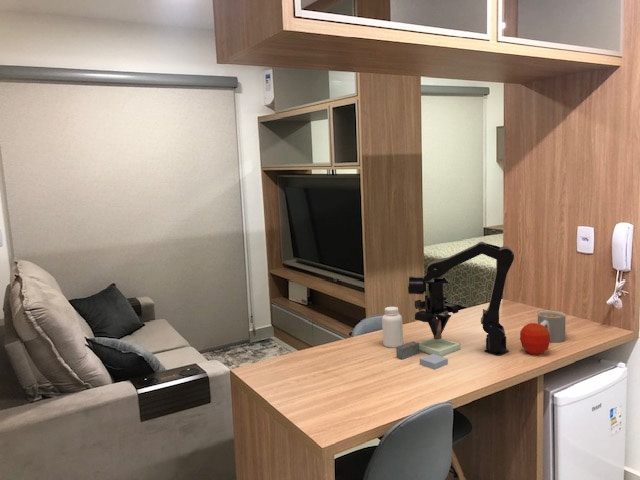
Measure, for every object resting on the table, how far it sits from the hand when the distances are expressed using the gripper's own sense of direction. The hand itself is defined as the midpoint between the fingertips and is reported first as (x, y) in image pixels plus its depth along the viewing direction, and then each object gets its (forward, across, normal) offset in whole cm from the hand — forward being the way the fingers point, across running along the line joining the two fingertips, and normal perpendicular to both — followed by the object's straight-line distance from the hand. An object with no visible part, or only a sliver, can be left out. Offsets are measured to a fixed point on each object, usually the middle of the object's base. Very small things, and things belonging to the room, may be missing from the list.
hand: (437, 334), depth 202 cm
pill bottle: (+6, +8, -16) cm, 19 cm away
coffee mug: (+6, -38, +23) cm, 45 cm away
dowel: (+2, 0, 0) cm, 2 cm away
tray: (+6, 0, 0) cm, 6 cm away
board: (+6, +12, +9) cm, 17 cm away
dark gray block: (+6, +13, -4) cm, 14 cm away
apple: (+6, -22, +27) cm, 35 cm away
